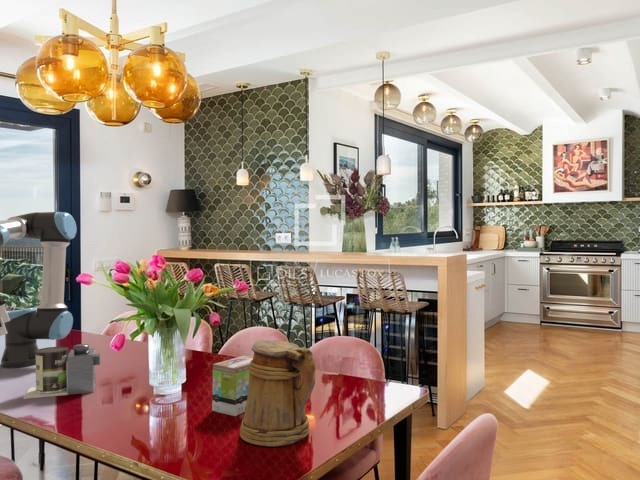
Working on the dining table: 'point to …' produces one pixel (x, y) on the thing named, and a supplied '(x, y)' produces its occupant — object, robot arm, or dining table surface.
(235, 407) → the tea box
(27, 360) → the robot arm
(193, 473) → the dining table surface
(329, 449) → the dining table surface
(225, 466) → the dining table surface
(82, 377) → the motor block
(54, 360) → the coffee can
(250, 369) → the tankard
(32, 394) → the mount pad
